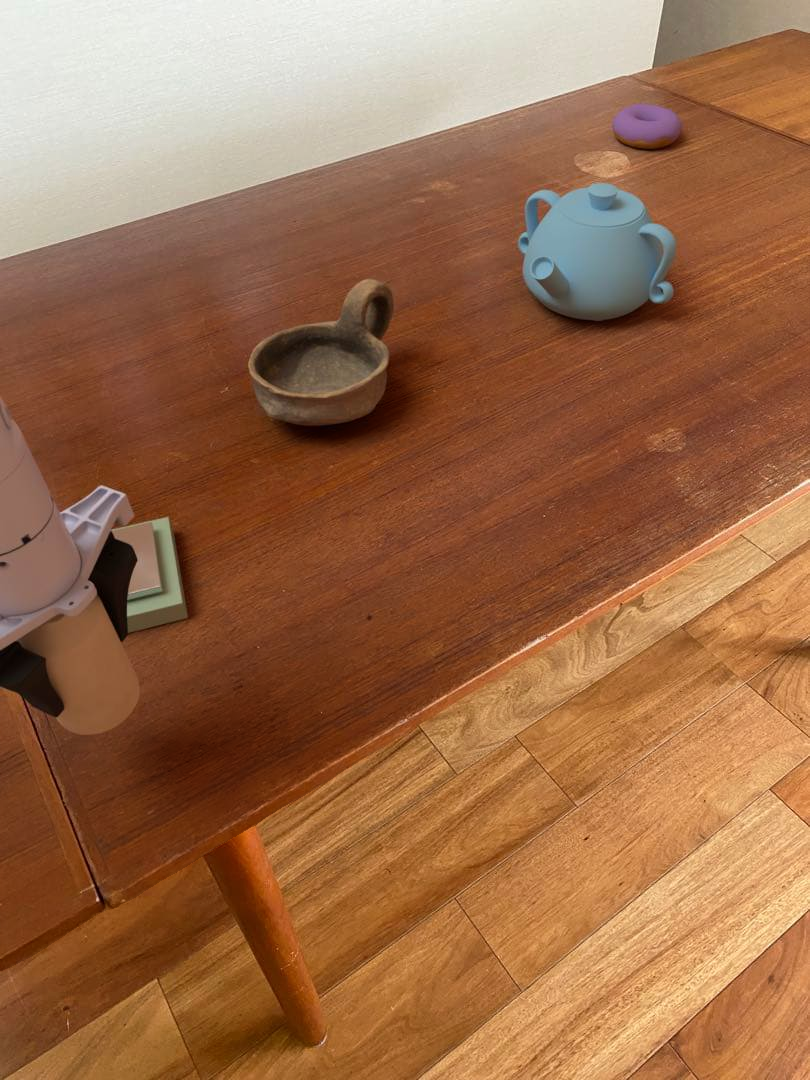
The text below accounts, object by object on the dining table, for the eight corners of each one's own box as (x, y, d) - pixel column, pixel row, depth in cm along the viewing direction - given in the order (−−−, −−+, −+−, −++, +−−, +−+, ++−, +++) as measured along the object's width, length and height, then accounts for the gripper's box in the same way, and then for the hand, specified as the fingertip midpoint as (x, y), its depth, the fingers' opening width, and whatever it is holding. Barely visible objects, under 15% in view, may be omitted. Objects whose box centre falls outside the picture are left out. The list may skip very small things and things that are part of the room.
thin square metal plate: (67, 615, 67) (64, 609, 66) (63, 547, 72) (61, 542, 71) (163, 591, 68) (161, 586, 68) (153, 527, 73) (151, 521, 72)
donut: (597, 139, 127) (605, 103, 124) (626, 132, 133) (635, 97, 130) (658, 156, 122) (668, 119, 119) (686, 148, 128) (696, 113, 125)
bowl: (226, 413, 87) (206, 328, 79) (345, 334, 96) (337, 251, 88) (324, 471, 81) (312, 384, 73) (442, 381, 89) (442, 295, 82)
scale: (60, 650, 67) (50, 633, 66) (56, 559, 74) (48, 542, 72) (188, 618, 69) (182, 601, 68) (173, 532, 76) (167, 514, 74)
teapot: (698, 293, 99) (725, 185, 90) (608, 378, 89) (628, 266, 79) (552, 242, 108) (562, 139, 98) (455, 314, 98) (456, 207, 88)
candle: (41, 695, 57) (-21, 599, 49) (117, 649, 59) (69, 552, 52) (77, 752, 54) (18, 660, 46) (156, 702, 56) (111, 606, 49)
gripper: (-56, 652, 38) (50, 793, 48) (148, 451, 47) (201, 606, 57) (-165, 600, 40) (-42, 745, 50) (48, 417, 49) (117, 573, 59)
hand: (81, 669), depth 54 cm, fingers closed on candle, 5 cm apart
